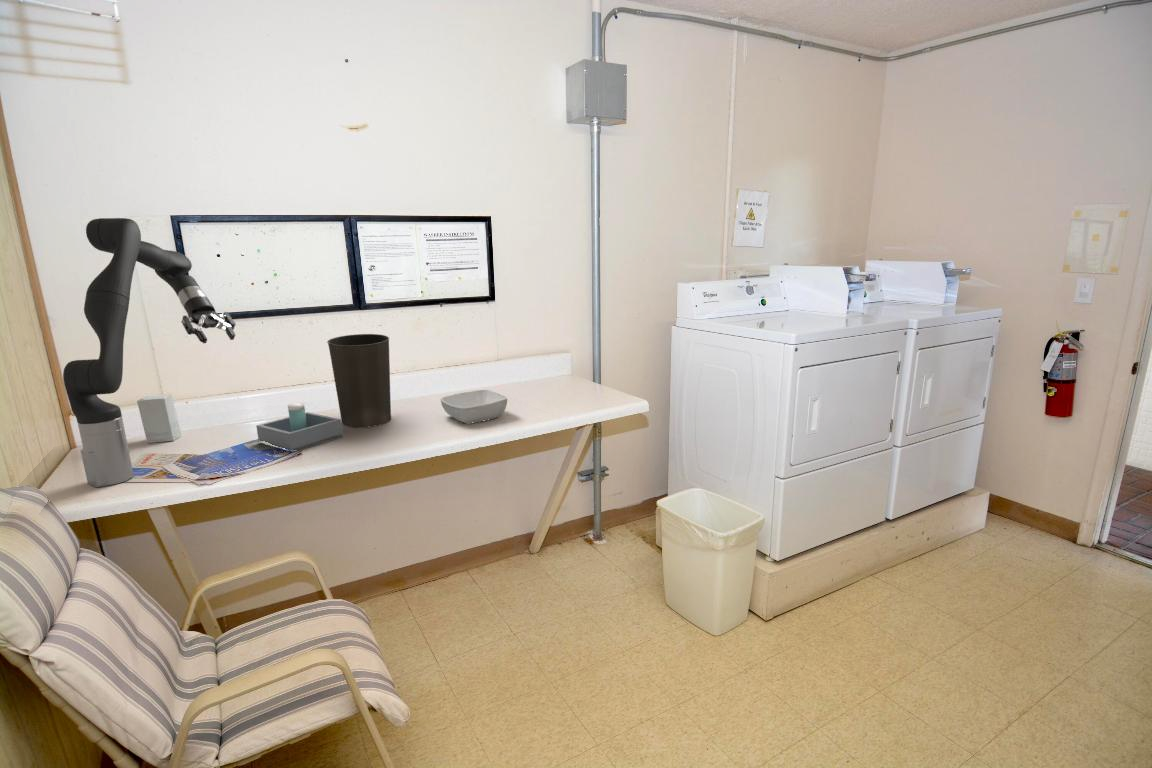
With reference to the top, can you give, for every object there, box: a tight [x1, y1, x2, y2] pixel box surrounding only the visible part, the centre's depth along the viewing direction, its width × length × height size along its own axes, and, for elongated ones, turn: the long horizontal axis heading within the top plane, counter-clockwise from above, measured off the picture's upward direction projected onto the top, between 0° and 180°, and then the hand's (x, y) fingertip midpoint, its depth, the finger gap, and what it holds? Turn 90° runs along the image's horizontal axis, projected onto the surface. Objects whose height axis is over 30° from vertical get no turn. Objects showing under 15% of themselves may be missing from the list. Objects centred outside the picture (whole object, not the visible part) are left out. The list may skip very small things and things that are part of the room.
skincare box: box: [136, 393, 182, 444], centre depth 190 cm, size 8×6×15 cm
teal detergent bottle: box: [287, 402, 307, 432], centre depth 187 cm, size 5×5×11 cm
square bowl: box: [439, 389, 508, 424], centre depth 210 cm, size 20×20×8 cm
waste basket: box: [327, 333, 392, 428], centre depth 205 cm, size 27×20×30 cm
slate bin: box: [256, 411, 343, 451], centre depth 188 cm, size 18×18×6 cm
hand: (219, 339), depth 186 cm, fingers open, 8 cm apart
